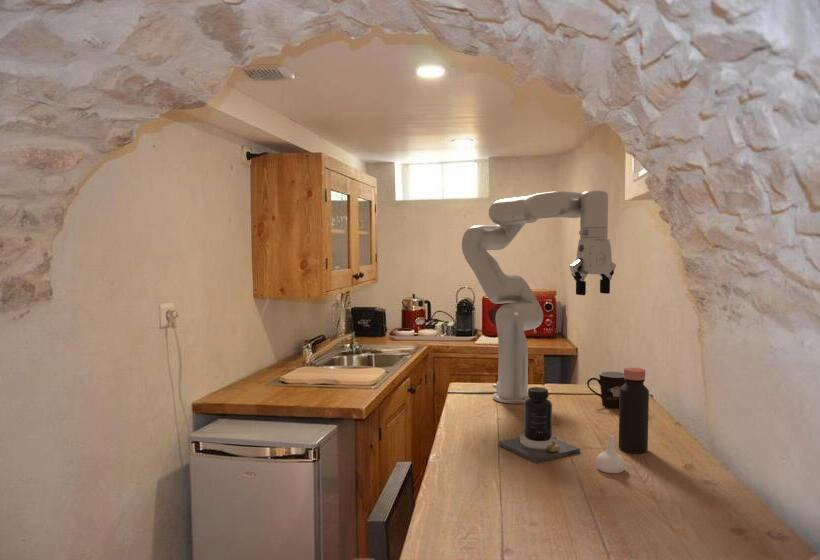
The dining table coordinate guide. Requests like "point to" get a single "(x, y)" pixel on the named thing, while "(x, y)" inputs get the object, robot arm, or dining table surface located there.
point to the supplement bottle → (538, 415)
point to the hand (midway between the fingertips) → (592, 294)
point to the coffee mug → (609, 388)
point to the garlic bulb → (610, 459)
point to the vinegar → (633, 412)
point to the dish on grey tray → (539, 448)
